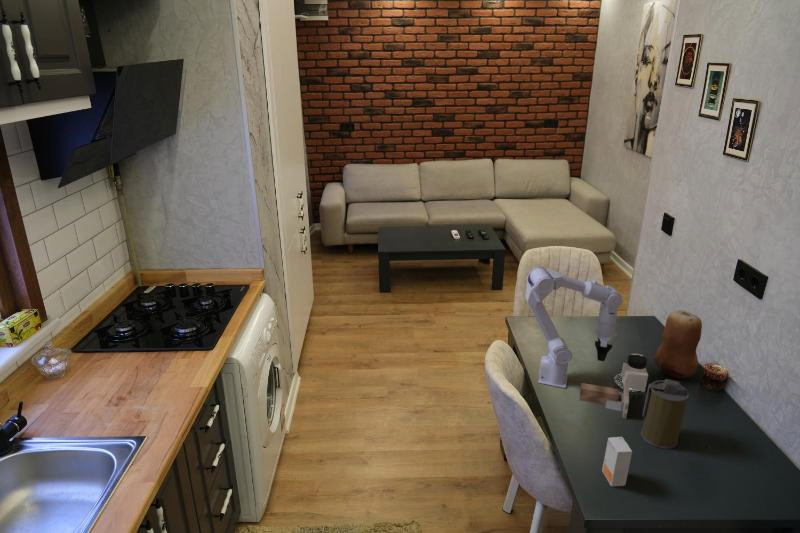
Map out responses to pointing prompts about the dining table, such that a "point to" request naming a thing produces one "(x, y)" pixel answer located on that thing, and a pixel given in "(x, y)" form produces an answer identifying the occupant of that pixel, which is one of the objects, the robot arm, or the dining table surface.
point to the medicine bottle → (635, 372)
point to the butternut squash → (679, 345)
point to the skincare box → (617, 461)
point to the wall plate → (626, 398)
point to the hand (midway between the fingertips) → (601, 355)
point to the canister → (664, 413)
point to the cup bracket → (616, 403)
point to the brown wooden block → (597, 394)
